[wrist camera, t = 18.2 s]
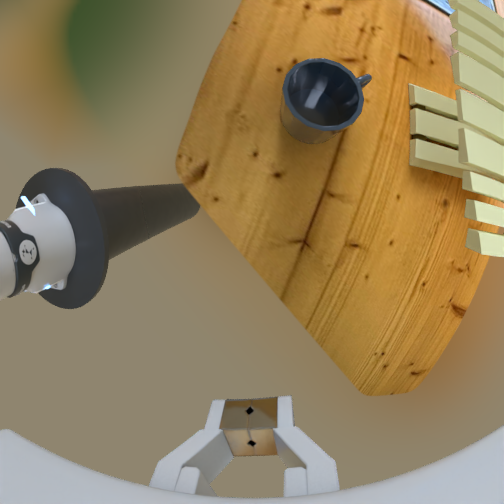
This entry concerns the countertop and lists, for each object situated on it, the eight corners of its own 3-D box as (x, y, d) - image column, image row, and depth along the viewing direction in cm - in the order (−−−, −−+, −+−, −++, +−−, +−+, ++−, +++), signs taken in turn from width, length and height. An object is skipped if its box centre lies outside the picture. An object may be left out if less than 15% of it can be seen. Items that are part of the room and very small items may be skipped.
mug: (301, 154, 34) (311, 144, 24) (268, 104, 33) (267, 77, 23) (367, 120, 32) (397, 102, 22) (336, 72, 30) (354, 41, 21)
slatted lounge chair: (475, 233, 34) (549, 263, 17) (403, 222, 35) (481, 254, 18) (475, 71, 27) (537, 47, 9) (403, 40, 27) (457, -12, 10)
